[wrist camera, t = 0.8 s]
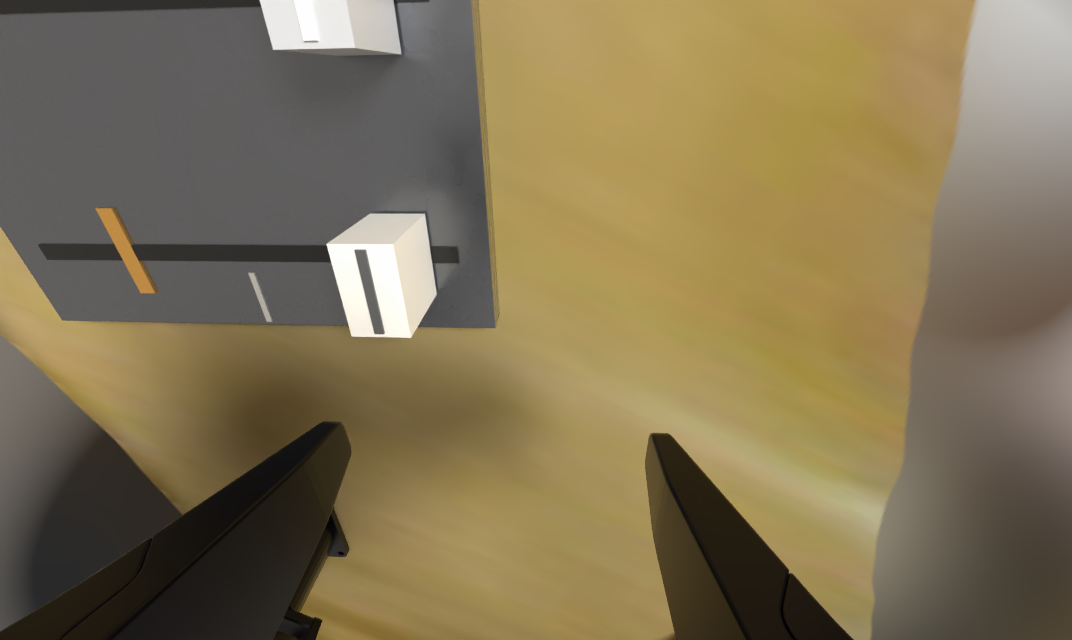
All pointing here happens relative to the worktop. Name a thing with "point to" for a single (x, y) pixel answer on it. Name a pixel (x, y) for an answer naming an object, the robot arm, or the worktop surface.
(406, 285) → the block
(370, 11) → the block white
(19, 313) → the worktop surface
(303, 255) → the panel
